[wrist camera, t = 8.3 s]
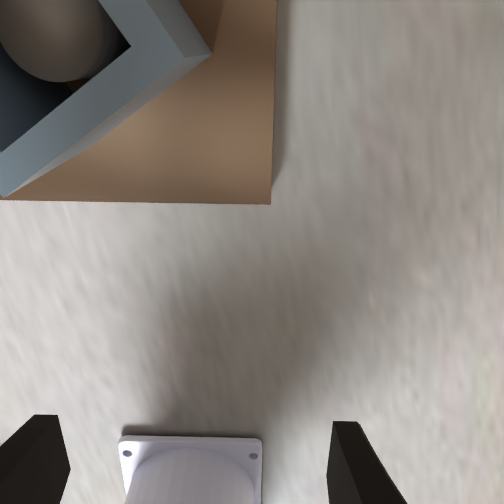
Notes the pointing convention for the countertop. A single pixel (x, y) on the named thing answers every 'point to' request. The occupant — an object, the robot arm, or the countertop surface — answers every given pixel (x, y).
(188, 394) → the countertop surface
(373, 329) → the countertop surface
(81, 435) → the countertop surface
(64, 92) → the duct sleeve
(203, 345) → the countertop surface
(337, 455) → the robot arm
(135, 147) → the base
